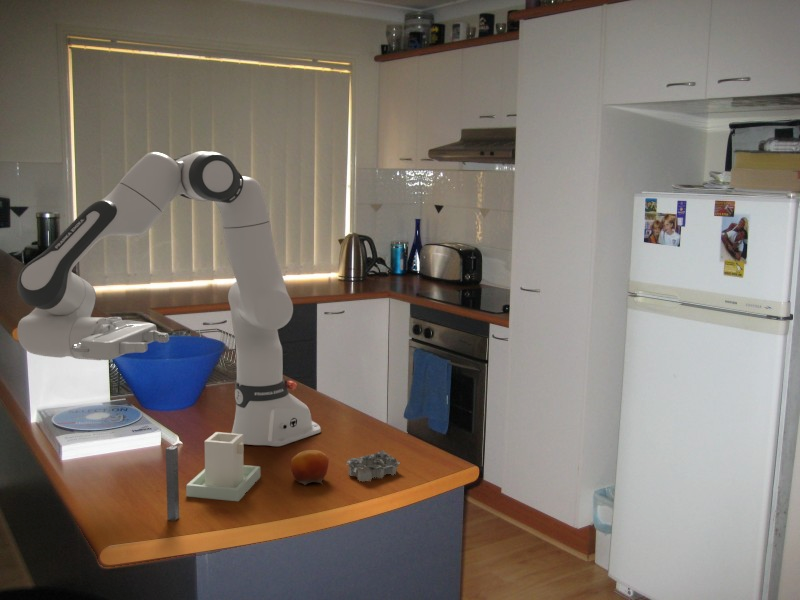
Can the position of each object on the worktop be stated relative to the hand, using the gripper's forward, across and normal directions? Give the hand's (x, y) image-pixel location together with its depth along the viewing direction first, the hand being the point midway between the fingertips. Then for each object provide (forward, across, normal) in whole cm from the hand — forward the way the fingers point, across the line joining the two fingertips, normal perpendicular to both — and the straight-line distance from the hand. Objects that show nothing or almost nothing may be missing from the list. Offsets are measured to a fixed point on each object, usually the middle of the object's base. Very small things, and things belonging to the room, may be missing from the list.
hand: (157, 342), depth 163 cm
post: (+10, -16, +30) cm, 36 cm away
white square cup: (+14, +1, +29) cm, 32 cm away
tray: (+14, +1, +30) cm, 33 cm away
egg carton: (+42, +15, +30) cm, 54 cm away
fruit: (+30, +8, +30) cm, 44 cm away
